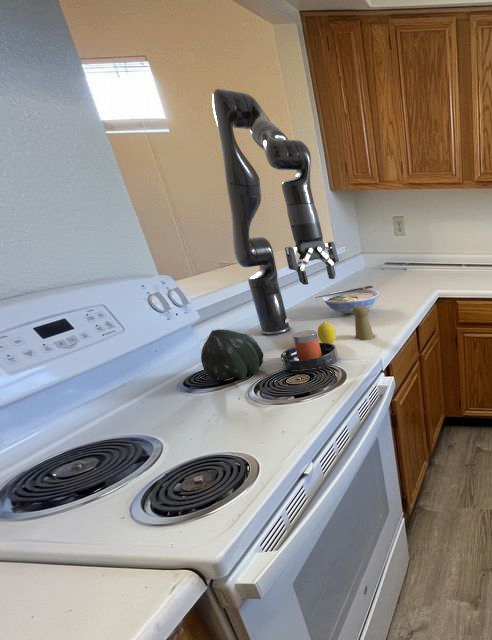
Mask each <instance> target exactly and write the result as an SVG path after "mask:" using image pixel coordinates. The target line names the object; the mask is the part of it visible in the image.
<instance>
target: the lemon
mask: <svg viewBox="0 0 492 640" xmlns="http://www.w3.org/2000/svg"><path fill="white" fill-rule="evenodd" d="M316 332H317V336H318V340H319V342H320V343H330V344H333V342H335V340H336V337H337V333H336V329H335V327H334V326H333V325H332V324H331V323H329V322H326V321H323V322H322V323H320V325H318V327H317V331H316Z"/></svg>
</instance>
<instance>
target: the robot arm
mask: <svg viewBox="0 0 492 640" xmlns="http://www.w3.org/2000/svg"><path fill="white" fill-rule="evenodd" d="M212 108H213V114H214V119H215V122H216V127H217V132H218V136H219V141H220V146H221V152H222V153H221V154H222V159H223V166H224V167H223V168H224V174H225V177H224V178H225V184H226V191H227V196H228V201H229V209H230V215H231V229H232V230H231V231H232V245H233V247H232V248H233V254H234V257H235V260H236V261H237V263H238V264H239V265H240V266H241V267H242V268H252V267H259V268H258V270H257V271H256V272H255V273H254V274H253V275H251V276H250V277H249V278H248V279H247V281H248V282H247V283H248V286H249V290H250V293H251V296H252V300H253V304H254V308H255V311H256V314H257V318H258V323H259V326H260V329H261V334H263V335H267V336H271V335H272V336H273V335H279V334H285V333H286V332H288V331H290V330H291V326H290V324H289V321H290V319H289V317H288V316H287V312H286V308H285V304H284V300H283V295H282V292H281V289H280V288H281V287H280V284H279V280H278V279H279V278H278V277H279V276H278V270H277V264H276V259H275V254H274V250H273V247H272V245H271V243H270V241H269V240H268V239H267V238H265V237H264V236H258V237H250V230H251V229H250V228H251V225H252V222H253V220H254V218H255V216H256V214H257V212H258V210H259V208H260V206H261V203H262V188H261V181H260V180H261V179H260V177H259V175H258V172H257V171H256V170H255V167H254V166H253V165H252V164H251V162H250V161H249V160H248V159H247V157H246V156H245V154H244V153H243V151H242V150H241V148H240V146H239V145H238V142H237V140H236V136H235V132H234V128H235V129H242V130H243V129H244V130H250V135H251V137H252V140H253V141H254V142H255V143H256V145H257V146H258V147H259V148H261V150H263V152H264V155H265V158H266V160H267V162H268V164H269V166H270V167H272V168H273V169H275V170H278V171H296V174H295V178H293V179H289V180H288V179H287V180H285V181H283V182H282V183H281V190H282V194H283V198H284V202H285V205H286V213H287V217H288V221H289V222H288V223H289V225H290V229H291V235H292V238H293V241H294V243H295V246H285V248H284V252H285V257H286V262H287V266H288V269H289V270H292V271H296V272H297V276H298V280H299V282H300V284H302V285H305V286H306V285H309V280H308V275H307V271H306V270H305V269H306V265H307V264H309V262H312V261H314V260H319V261H322V263H324V264H325V265H326V266H325V268H326V273H327V277H328V279H329V280H334V279H336V276H337V275H336V270H335V264H337V263H339V262H340V259H339V255H338V252H337V249H336V243H335V241H326V242H324V240H323V238H324V237H323V231H322V227H321V222H320V218H319V215H318V214H319V213H318V211H317V208H316V205H315V201H314V197H313V192H312V188H311V167H312V155H311V152H310V149H309V147H308V146H307V145H306V144H305V143H304V142H303V141H301V140H298V139H288V137H287V135H286V134H285V133H284V132H283V131H282V130H281V129H280V128H278V127H277V126H276V125H275V124H274V123H273V122H272V121H271V120H270V118H269V117H268V115H267V113H266V112H265V111H264V110H263V108H262V106H261V105H260V103H259V102H258V101H257V100H256V98H255V97H253V96H252V95H251V94H249V93H246V92H242V91H236V90H230V89H223V88H215V89H214V90H213V91H212ZM325 250H327V253H328V254H327V253H326V252H325ZM297 254H298V258H296V255H297Z"/></svg>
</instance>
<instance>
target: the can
mask: <svg viewBox="0 0 492 640" xmlns="http://www.w3.org/2000/svg"><path fill="white" fill-rule="evenodd" d="M292 339H293V343H294V347H295V348H296V352H297V356H298V359H299V360H308V359H313V358H317V357H321V356H322V353H321V349H320V344H319V343H320V339H319V337H318V333H317V331H316V330H313V329H306V330H300V331H297V332H294V333H293V334H292Z"/></svg>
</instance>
